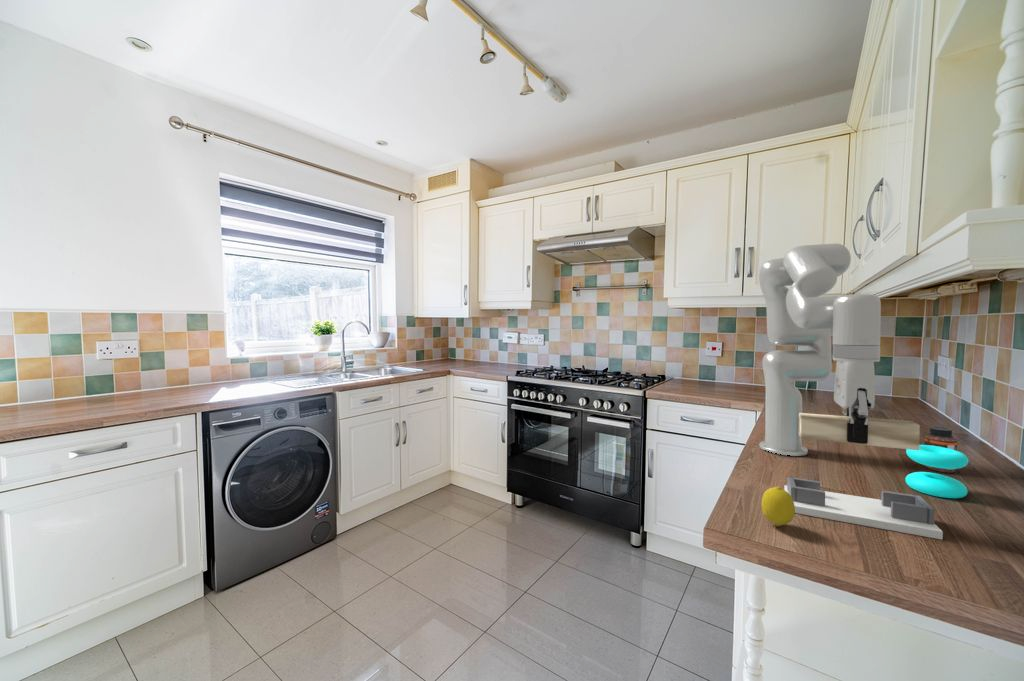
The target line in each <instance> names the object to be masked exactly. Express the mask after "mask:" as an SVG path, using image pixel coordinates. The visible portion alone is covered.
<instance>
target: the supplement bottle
mask: <svg viewBox="0 0 1024 681" xmlns="http://www.w3.org/2000/svg"><path fill="white" fill-rule="evenodd" d="M924 445H931V446H938V447H944V448H949V449H953V450H956V451H958V440H957V439H956V438H955V437H954V435H953V429H952V428H948V427H943V426H930V427H929V433H927V434H925V436H924ZM923 466H924V467H925V468H926V469H928V470H932V471H935V472H940V473H945V472H946V473H945V474H947V473H948V474H953V472H954V473H956V471H957V469H943V468H936V467H931V466H927V465H923Z"/></svg>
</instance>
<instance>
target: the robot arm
mask: <svg viewBox="0 0 1024 681" xmlns="http://www.w3.org/2000/svg"><path fill="white" fill-rule="evenodd" d="M851 256H852V255H851V253H850V251H849V249H848V248H847V246H845V245H844V244H841V243H824V244H823V243H821V244H820V243H819V244H806V245H805V244H804V245H799V246H795V247H793V248H791V249H790V250H788V251H787V252H786V253H785V255H784V257H781V258H780V257H779V258H774V259H770V260H767V261H765V262H764V263H762V265H761V266H760V268H759V270H758V271H759V274H758V280H759V281H758V282H759V286H760V289H761V292H762V295H763V297H764V301H765V305H766V306H765V308H766V309H765V310H766V335H767V339H768V342H769V343H771V345H775V346H781V347H782V346H783V347H784V346H786V347H789V346H790V347H795V346H796V347H807V348H808V350H796V349H780V350H779V349H777V350H771V351H769V352H767V353H766V354H764V356H763V357H762V362H761V363H762V370H763V377H764V385H765V386H764V387H765V398H764V399H765V408H764V409H765V415H764V416H765V421H764V422H765V424H764V425H765V428H764V430H765V431H764V432H765V433H764V440H763V441H760V442H759V449H761V450H763V451H765V450H766V451H765V452H768V451H769V453H771V452H772V454H775V453H777V454H776V455H780V454H781V455H780V456H787V455H790V456H791V457H804V456H806V455H807V454H809V450H808V448H807V447H806V446H803V445H802V442H803V441H802V440H803V439H801V438H800V436H799V413H803V395H802V393H801V391H800V390H799V389H798V388H797V387H796V386H795V384H794V383H793V382H824V381H827V380H828V379H829V378H830V376H831V375H832V368H833V367H832V365H833V363H832V362H833V361H836V364H835V374H834V375H835V376H834V386H833V388H834V389H833V390H834V392H833V401H834V402H835V403H836V404H837V405H839V406H840V407H842V416H849V423H847V441H848V442H851V443H861V444H867V443H868V418H869V411H871V410H873V409H874V408H875V400H876V380H875V373H876V372H875V362H881V314H882V313H881V312H882V311H881V310H882V306H881V305H882V302H881V299H880V297H879V296H878V295H876V294H869V293H865V294H864V293H862V294H861V293H859V294H845V295H839V296H836V295H834V296H823V295H825V294H827V293H828V292H830V291H831V290H832V289H833V288H834V287H835V286H836V284H837V281H838V277H840V276H842V275H843V274H844V273H846V272H847V271H848V269H849V268H850V264H851V261H852V260H851V259H852V257H851ZM788 286H789V288H788ZM831 330H832V335H831ZM831 336H832V337H831ZM790 456H789V457H790Z"/></svg>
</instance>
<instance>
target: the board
mask: <svg viewBox="0 0 1024 681" xmlns="http://www.w3.org/2000/svg"><path fill="white" fill-rule="evenodd" d="M783 490H785V491H786V492H788V490H787V484H784V489H783ZM824 491H825V506H819V505H813V504H807V503H801V502H795V501H793V502H794V506H795V514H797V515H804V516H808V517H809V516H810V517H815V518H820V519H821V518H822V519H827V520H831V521H838V522H843V523H848V524H853V525H859V526H866V527H869V528H874V529H875V528H876V529H881V530H886V531H893V532H897V533H904V534H909V535H915V536H919V537H920V536H921V537H924V538H925V537H927V538H931V539H936V540H943V539H944V538H943V534H944V532H943V530H942V529H941V528H939V527H938V525H937V524H935V522H934V525H932V524H926V523H920V522H914V521H908V520H902V519H896V518H892V517H891V507H886V506H882V504H881V499H878V498H871V497H865V496H858V495H852V494H845V493H839V492H833V491H826V490H824Z"/></svg>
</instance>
